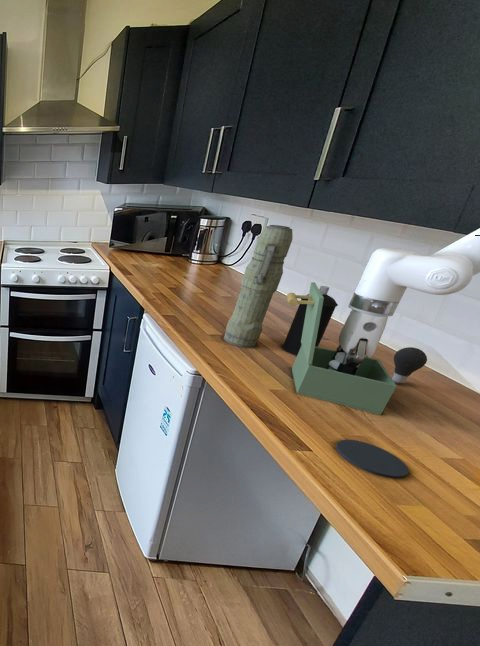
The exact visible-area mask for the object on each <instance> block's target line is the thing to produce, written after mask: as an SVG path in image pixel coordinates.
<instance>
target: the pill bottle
mask: <svg viewBox="0 0 480 646" xmlns="http://www.w3.org/2000/svg"><path fill="white" fill-rule="evenodd" d="M344 356H345V353H344V352H338V353H337V354H336V356H335V359H336V360H332V361H330V362H329V364H328V366H327V368H326V369H328V370H333V371H336V370H337V368H338V366H339V364H340V363H342V362H343V359H344ZM351 357H353V356H352V355H349V358H351ZM349 358H348V359H349ZM356 372H357V371H356ZM355 374H356V373H355Z"/></svg>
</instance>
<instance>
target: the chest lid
mask: <svg viewBox="0 0 480 646" xmlns="http://www.w3.org/2000/svg"><path fill="white" fill-rule="evenodd" d="M319 289H320V288H319V287H318V285H317V283H316V282H310V286H309V292H308V294H309V295H308V294H305V295H304V294H295V292H289V293H287V294H286V299H287V303H288V306H290V307H295V306H297V305H299V304H307V309H306V315H305V321H304V327H303V333H302V339H301V344H302V347H303V350H304V354H305V357H306V360H307V364H312V361H313V356H314V350H315V344H316V339H317V333H318V328H319V322H320V317H321V311H322V306H323V300H324V297H323V296H322V294H321V292H320V290H319ZM301 299H308V301H304V300H301Z"/></svg>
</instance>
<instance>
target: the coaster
mask: <svg viewBox="0 0 480 646" xmlns="http://www.w3.org/2000/svg"><path fill="white" fill-rule="evenodd" d="M335 449H336V451H337V453H338V454H339V455H340V456H341V457H342V458H343V459H344V460H345V461H347V462H348V463H350V464H351V465H353V466H355V467H357V468H359V469H361V470H363V471H364V472H365V471H366V472H368V473H370V474H373V475H376V476H379V477H383V478H388V479H404V478H406V477H407V476H408V474H409V467H408V466H407V464H405V462H403V461H402V460H401V459H400V458H399V457H397V455H394V454H393V453H391V452H389V451H387V450H385V449H383V448H381V447H379V446H376V445H374V444H371V443H368V442H364V441H361V440H356V439H355V440H354V439H342V440H339V441H338V442H337V443H336V445H335Z"/></svg>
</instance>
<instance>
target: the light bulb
mask: <svg viewBox="0 0 480 646" xmlns="http://www.w3.org/2000/svg"><path fill="white" fill-rule="evenodd" d="M427 362H428V356H427V354H426V353H425V352H424V351H423V350H422V349H420V348H417V347H411V346H409V347H403V348H400V349H398V350H397V351H396V352H395V353H394V355H393V363H394V373H393V374H392V376H391V378H392V380H393V381H394V383H395V384H396V385H399V384H405V383H406V381H407V380H408V378H409V377H410V376H411V375H412V374H413V373H415V372H416V371H418V370H420V369H422V368H423V367H424V366H425V365H426V364H427Z"/></svg>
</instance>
